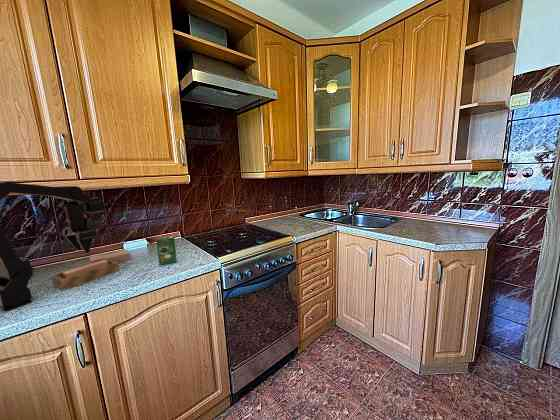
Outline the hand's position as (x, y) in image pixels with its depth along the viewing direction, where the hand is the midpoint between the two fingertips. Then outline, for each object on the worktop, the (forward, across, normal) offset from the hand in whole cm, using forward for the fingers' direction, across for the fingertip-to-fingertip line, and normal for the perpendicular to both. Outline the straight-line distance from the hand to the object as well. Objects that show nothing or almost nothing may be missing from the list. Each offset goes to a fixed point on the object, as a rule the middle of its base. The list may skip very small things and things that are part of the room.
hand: (83, 251), depth 100 cm
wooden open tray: (+12, 0, 0) cm, 12 cm away
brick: (+12, +10, -14) cm, 21 cm away
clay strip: (+11, 0, 0) cm, 11 cm away
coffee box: (+12, -19, -26) cm, 34 cm away
